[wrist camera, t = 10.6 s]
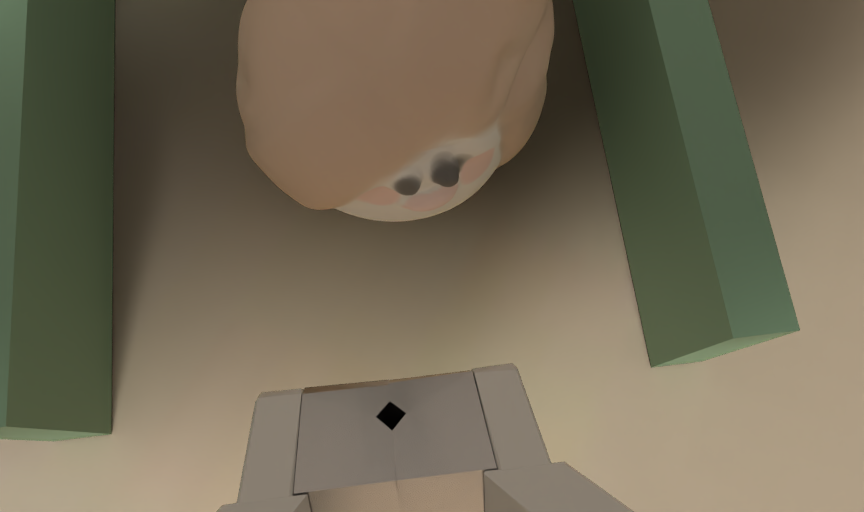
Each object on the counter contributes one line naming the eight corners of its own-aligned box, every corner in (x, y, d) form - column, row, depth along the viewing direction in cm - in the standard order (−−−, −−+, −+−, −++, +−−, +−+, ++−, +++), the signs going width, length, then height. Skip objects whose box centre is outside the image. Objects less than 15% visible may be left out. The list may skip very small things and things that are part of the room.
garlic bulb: (511, 276, 16) (611, 112, 8) (242, 240, 16) (92, 40, 8) (535, 37, 18) (634, -280, 10) (294, 4, 18) (212, -338, 10)
